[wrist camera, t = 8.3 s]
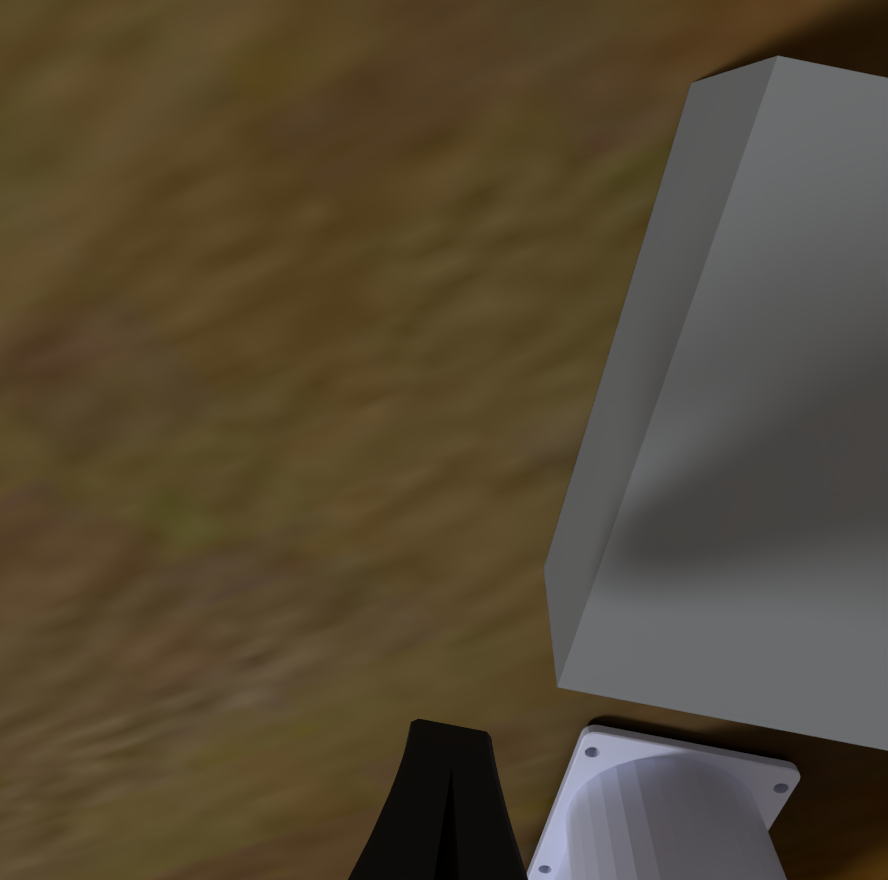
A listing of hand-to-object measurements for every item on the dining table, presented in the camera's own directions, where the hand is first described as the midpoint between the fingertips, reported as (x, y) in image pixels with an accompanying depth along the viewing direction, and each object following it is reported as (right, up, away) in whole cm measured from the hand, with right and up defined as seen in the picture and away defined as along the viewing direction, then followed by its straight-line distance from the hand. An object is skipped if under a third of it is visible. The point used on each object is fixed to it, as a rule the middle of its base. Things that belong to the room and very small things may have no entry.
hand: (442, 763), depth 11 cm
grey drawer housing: (+11, +6, +7) cm, 15 cm away
